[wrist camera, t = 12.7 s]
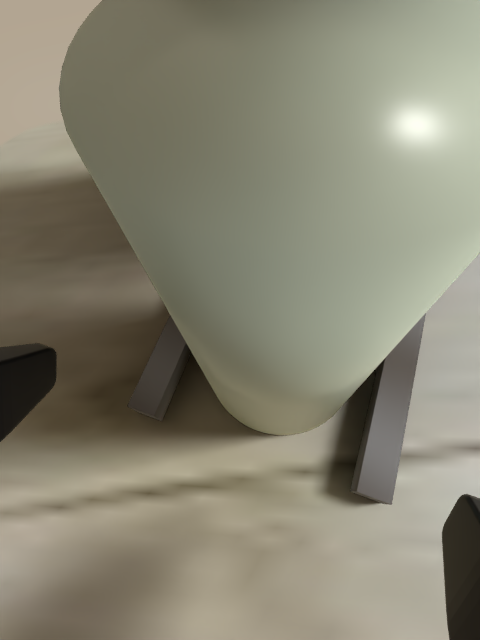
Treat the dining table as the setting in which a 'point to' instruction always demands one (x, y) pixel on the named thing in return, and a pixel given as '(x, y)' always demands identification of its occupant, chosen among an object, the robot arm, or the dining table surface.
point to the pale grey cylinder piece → (285, 178)
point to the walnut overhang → (381, 422)
